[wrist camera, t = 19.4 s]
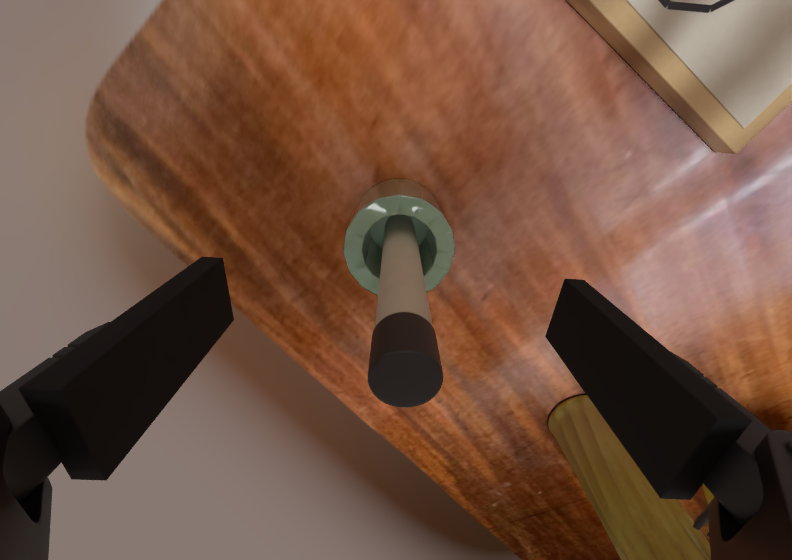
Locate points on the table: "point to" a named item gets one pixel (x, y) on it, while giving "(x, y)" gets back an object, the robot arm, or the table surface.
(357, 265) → the pencil pot
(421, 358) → the pen
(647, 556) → the vase
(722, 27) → the sketch board
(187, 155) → the table surface
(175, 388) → the robot arm
